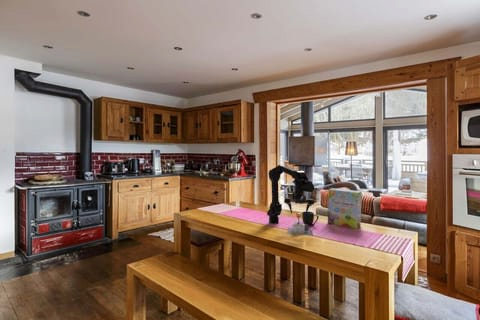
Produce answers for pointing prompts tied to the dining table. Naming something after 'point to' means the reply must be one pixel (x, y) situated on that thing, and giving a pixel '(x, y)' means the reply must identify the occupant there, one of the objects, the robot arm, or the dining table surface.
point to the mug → (309, 218)
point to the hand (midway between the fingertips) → (298, 214)
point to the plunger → (298, 216)
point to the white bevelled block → (299, 227)
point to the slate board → (300, 233)
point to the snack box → (344, 207)
